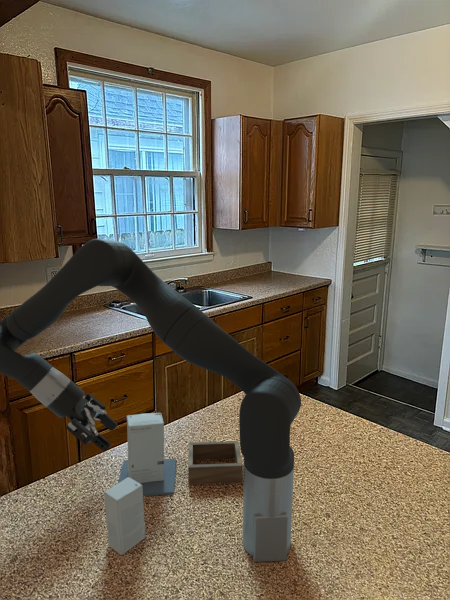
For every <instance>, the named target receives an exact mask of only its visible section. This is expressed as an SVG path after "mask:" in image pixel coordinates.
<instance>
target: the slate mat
mask: <svg viewBox="0 0 450 600" xmlns="http://www.w3.org/2000/svg"><path fill="white" fill-rule="evenodd" d="M176 469H177V458H164V480H163V481H154V482H147V483H141V485H142V488H143V497H145V496H147V497H148V496H166V495H168V496H169V495H175V483H176ZM128 477H129V475H128V459H125V460H123V463H122V466H121V471H120V474H119V478H118V482H117V484H118V483H120V482H121V481H123V480H124V479H126V478H128Z"/></svg>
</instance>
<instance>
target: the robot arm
mask: <svg viewBox="0 0 450 600" xmlns="http://www.w3.org/2000/svg"><path fill="white" fill-rule="evenodd" d="M96 287H113V288H114V289H116V290H118V291H119V292H121V293H122V294H123V295H125V296H126V297H128V298H129V299H130V300H131V301H133V303H134V304H136V306H137V307H139V308H140V310H141V312H142V314H143V315H144V317H145V319H146V320H147V323H148V325H149V326H150V328H151V329H152V331H153V332H154V334H155V335H156V336H157V337H158V339H159V340H160V341H161V342H162V343H164V345H166V346H167V347H168V348H169V349H170V350H172V352H173V353H175V354H176V355H177V356H178V357H180V358H181V359H182V360H184V361H185V362H188V363H189V364H192V365H194V366H195V367H199V368H202V369H204V370H206V371H207V370H208V371H209V372H212V373H215V374H217V375H220V376H222V377H224V378H225V379H227V380H228V381H230V382H232V384H234V385H235V386H236V387H238V388H239V389H240V390H241V391H242V392H243V393H244V394H245V395H244V397H242V400H241V402H240V406H239V417H238V418H239V420H238V421H239V424H238V425H239V448H240V454H241V456H242V458H243V482H242V483H243V485H242V486H243V490H242V491H243V494H242V501H243V502H242V546H243V548H244V550H245V551H246V552H247V553H248V555H250V557H252V560H253V561H252V562H254V563H257V562H258V563H259V562H277V561H279V562H280V561H287V558H288V553H289V551H290V550H291V543H292V542H291V540H292V537H291V536H292V518H293V515H292V514H293V499H294V498H293V493H294V476H295V475H294V472H295V469H294V468H295V452H294V450H293V448H292V447H291V445H290V444H291V442H290V441H291V425H292V424H293V423H294V420H295V419H296V417H297V416H298V414H299V412H300V410H301V406H302V397H301V394H300V392H299V390H298V387H296V385H295V384H294V383H293V382H292V381H291V380H290V379H289V378H287V376H285V375H284V374H282V373H281V372H279V371H278V370H276V369H275V368H273V367H272V366H270V365H269V364H268V363H266V362H265V361H264V360H262V359H260V358H259V357H257V356H256V355H254V354H253V353H252V352H251V351H249V350H248V349H247V348H246V347H244V346H243V345H242V344H241V343H240V342H238V341H237V340H236V339H235V338H234V337H233V336H231V335H230V334H229V333H228V332H227V331H225V330H224V329H223V328H222V327H220V326H219V325H218V324H217V323H216V322H215V321H214V320H212V319H211V318H210V317H209V315H207V314H206V313H204V312H203V311H202V309H200V308H199V307H197V305H196V304H193V303H192V302H191V301H190V300H189V299H187V298H186V297H185V296H184V295H182V294H181V293H180V292H178V291H177V290H176V289H174V288H173V287H172V286H170V285H169V284H168V283H166V282H165V281H163V280H162V279H161V278H160V277H159V276H158V275H157V274H156V273H155V272H154V271H152V269H151V268H150V267H149V266H148V265H147V264H146V263H145V262H144V260H142V258H140V257H139V256H138V254H136V252H135V251H134V250H133V249H132V248H130V246H128V245H127V244H125V243H123V242H120V241H117V240H111V239H108V238H107V239H106V238H93V239H90V240H88V241H86V242H85V243H84V244H83V245H82V246H80V248H78V249H77V251H76V252H75V253H74V254H73V255H72V256H71V257H70V258H69V260H68V261H67V262H66V263H65V264H64V265H63V266H61V268H60V269H59V270H58V271H57V273H55V274H54V276H53V277H52V278H51V279H50V280H49V281H48V282H46V283H45V284H44V286H42V287H41V288H40V289H39V290H37V292H36V293H34V294H33V295H32V296H30V297H29V298H27V299H26V300H24V301H23V303H21V304H20V305H18V307H16V308H15V309H13V311H11V312H10V314H9V315H8V316H5V317H4V318H3V319H1V320H0V374H2V375H4V376H6V377H8V378H11V379H13V380H15V381H16V382H18V384H20V385H21V386H22V387H24V388H25V389H26V390H27V391H28V392H29V393H31V395H32V396H34V397H35V399H36V400H37V401H38V402H40V403H41V404H42V405H44V407H45V408H47V409H49V410H50V411H51V412H52V413H53V414H54V415H56V416H57V417H58V418H60V419H63V418H65V417H67V418H68V419H69V421H70V422H69V423H67V425H65V429H66V430H67V431H68V432H70V434H72V436H74V437H75V438H76V439H77V440H79V442H81V443H82V444H83V445H85V446H86V445H88V444H89V443H93V444H94V445H95V446H96V447H97V448H99V449H100V450H101V451H103V452H105V451H107V450H108V449H109V448H110V447H111V444H112V443H111V442H110V441H109V440H108V439H107V438H105V437H104V436H103V435H102V434H101V433H99V432H98V431H97V428H96V427H95V426H96V423H95V421H99V422H100V424H102V425H103V426H104V427H105V428H107V430H109V431H110V432H112V431H114V430H115V429H116V428H117V427H118V422H117V421H115V420H114V419H113V418H112V417H110V416H109V415H108V413H107V411H106V409H107V407H106V405H105V404H104V403H102V402H101V401H100V399H99V400H98V399H97V398H96V397H95V396H93V395H92V394H91V393H90V392H87V393H86V394H85V391H84V390H83V389H82V388H81V387H79V386H78V385H77V384H76V383H75V382H74V381H72V380H71V379H70V378H69V377H67V376H66V374H64V373H62V372H61V371H59V370H58V369H56V368H55V367H54V366H53V365H52V364H51V363H49V362H48V361H46V359H44V358H43V357H42V356H41V355H39V354H38V353H36V352H31V353H28V354H26V355H25V354H24V355H23V354H21V353H18V352H17V351H16V350H17V349H19V347H21V346H22V345H23V344H24V343H26V342H27V341H28V340H31V339H33V338H35V337H36V336H38V335H40V334H41V333H43V332H44V331H45V330H47V329H48V328H49V327H50V326H51V325H53V324H55V322H56V321H58V320H59V319H60V318H61V316H62V315H63V313H64V312H65V310H66V308H68V306H69V305H70V304H71V303H72V301H74V300H75V299H76V298H78V297H79V296H81V295H82V294H84V293H87V291H90V290H92V289H93V288H96ZM94 420H95V421H94ZM83 435H84V436H83Z"/></svg>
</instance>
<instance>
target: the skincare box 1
mask: <svg viewBox="0 0 450 600" xmlns="http://www.w3.org/2000/svg"><path fill="white" fill-rule="evenodd" d="M103 494H104V495H103V496H104V508H105V519H106V520H105V522H106V532H107V543H108V546H109V547H110V548H111V549H112V550H113V551H114V552H116V553H118V554H119V555H120V556H124V554H125V553H127V552H128V551H130V550H131V549H132V548H133V547H135V546H136V545H137V544H139V543H140V542H141V541H143V540H144V539H146V524H145V511H144V510H145V505H144V496H143V488H142V485H141V484H140V483H138V482H136V481H135V480H133V479H131V478H130V477H128V478H126V479H124V480H123V481H121V482H120V483H118V482H117V483H116V484H114V485H113V486H111V487H110V488H108V489H107V490H104V492H103Z"/></svg>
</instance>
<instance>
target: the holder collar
mask: <svg viewBox="0 0 450 600" xmlns="http://www.w3.org/2000/svg"><path fill="white" fill-rule="evenodd" d="M187 457H188V461H187V463H188V465H187V466H188V468H187V471H188V473H187V474H188V475H187V476H188V485H193V486H194V485H215V484H217V485H218V484H237V483H238V484H241V483H243V470H244V464H243V460H242V453H241V449H240V441H239V440H227V441H224V440H223V441H198V442H197V441H195V442H193V441H192V442H188V456H187ZM219 460H220V461H222V460H234V462H233V463H232V462H229V463H208V464H207V463H205V464H204V463H203V464H194V462H195V461H219Z"/></svg>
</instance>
